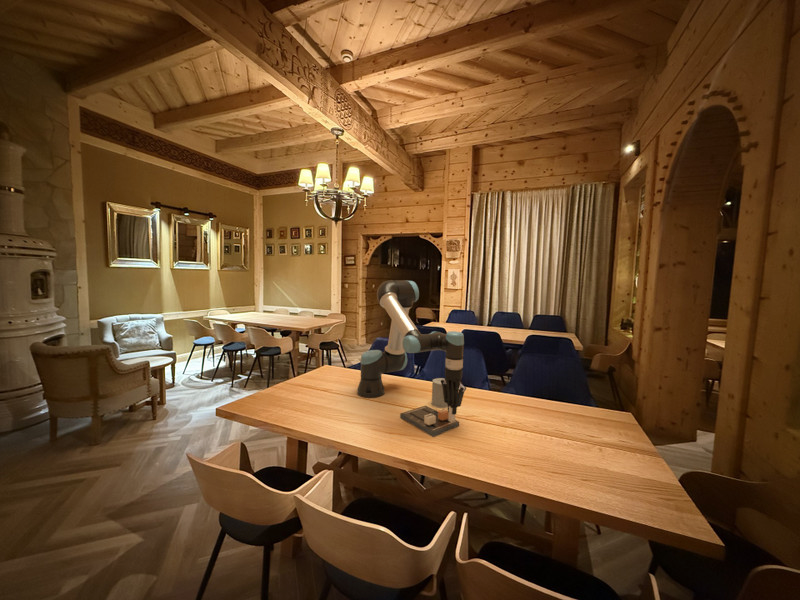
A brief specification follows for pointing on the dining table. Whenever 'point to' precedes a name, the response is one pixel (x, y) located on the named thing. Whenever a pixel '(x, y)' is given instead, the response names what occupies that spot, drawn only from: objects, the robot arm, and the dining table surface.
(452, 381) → the robot arm
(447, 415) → the fader terracotta
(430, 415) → the fader ivory
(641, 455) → the dining table surface
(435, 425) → the console
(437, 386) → the grey speckled cylinder
